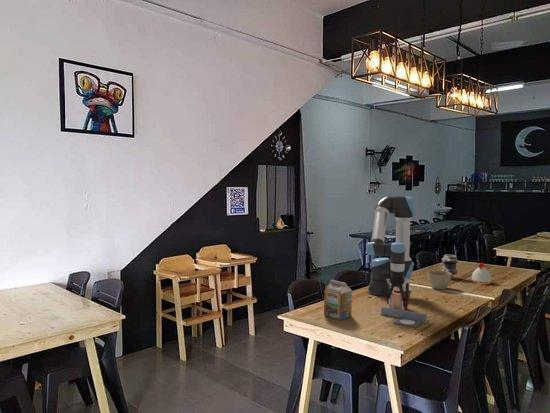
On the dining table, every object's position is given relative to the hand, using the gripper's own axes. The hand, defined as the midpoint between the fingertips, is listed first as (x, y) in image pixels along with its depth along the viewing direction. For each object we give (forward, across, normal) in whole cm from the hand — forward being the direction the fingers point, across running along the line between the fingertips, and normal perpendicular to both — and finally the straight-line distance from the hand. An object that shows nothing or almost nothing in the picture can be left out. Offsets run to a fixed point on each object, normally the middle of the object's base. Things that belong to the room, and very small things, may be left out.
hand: (396, 310), depth 240 cm
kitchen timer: (+2, +31, +115) cm, 119 cm away
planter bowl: (+2, +8, +77) cm, 77 cm away
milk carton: (+1, -25, -24) cm, 35 cm away
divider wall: (+1, +6, -7) cm, 10 cm away
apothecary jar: (+2, +8, +116) cm, 116 cm away
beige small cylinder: (+1, 0, 0) cm, 1 cm away
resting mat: (+1, +10, -14) cm, 18 cm away
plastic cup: (+1, 0, +11) cm, 11 cm away
